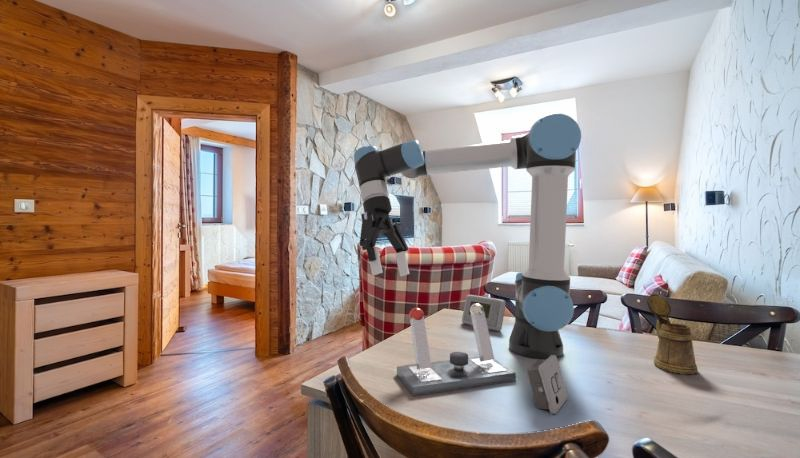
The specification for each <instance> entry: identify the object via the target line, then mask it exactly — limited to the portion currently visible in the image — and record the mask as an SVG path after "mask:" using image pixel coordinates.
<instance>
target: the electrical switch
mask: <svg viewBox="0 0 800 458" xmlns="http://www.w3.org/2000/svg"><path fill="white" fill-rule="evenodd" d="M526 371H527V376H528V379H529V380H528V381H529V383H530V387H531V391H532V395H533V398H534V401H535V402H534V403H535V404H536V405H535V406H536V409H538V410H549V413H550V414H552V415H554V414H555V415H556V414H557V413H558V412H559V410H560V409H561V408H562V406H563V405H564V403H565V402H566V401H567V400H568V393H567V389H566V385H565V382H564V378H563V375H562V371H561V368H560V364H559V360H558V357H556V355H551V356H550V357H549V358H544V359H538V360H537V361H536V362H534V364H532V365H531V366H530V367H529V368H527V370H526Z"/></svg>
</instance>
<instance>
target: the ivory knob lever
mask: <svg viewBox="0 0 800 458" xmlns="http://www.w3.org/2000/svg"><path fill="white" fill-rule="evenodd" d="M470 313H471V318H472V323H473V326H472V328H473V333H474V339H475V344H476V347H477V352H478V353H477V354H478V357H479V358H480V362H483V361H491V360H494V359H495V356H494V355H495V354H494V351H493V346H492V341H491V337H490V333H489V331H490V330H488V327H487V322H486V317H485V313H484V308H483V306H482V305H481V304H478V303H475V304H473V305H472V306H471V307H470Z"/></svg>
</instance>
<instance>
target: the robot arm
mask: <svg viewBox="0 0 800 458" xmlns="http://www.w3.org/2000/svg"><path fill="white" fill-rule="evenodd" d="M581 140H582V131H581V128H580V126H579V124H578V122H577V121H576V120H575V119H573V118H572V116H569V115H567V114H564V113H559V112H558V113H557V112H556V113H555V112H554V113H549V114H546V115H544V116H541V118H538V119H537V120H536V121H535V122H534V123H533V124H532V126H531V127H530V129H529V132H528V133H525V134H521V135H516V136H512V137H511V138H510V139H509V140H503V141H501V140H500V141H493V142H486V143H485V142H484V143H478V144H477V143H476V144H470V145H469V144H468V145H461V146H452V147H444V148H437V149H427V150H423V149H422V147H421V144H420V142H419V141H418V139H413V140H409V141H404V142H402V143H400V144H397V145H394V146H391V147H388V148H386V149H382V150H379V149H378V147H377V146H374V145H367V146H366V145H364V146H361V147H359V148H358V149H356V150H355V152H354V154H353V160H354V161H353V162H354V169H355V173H356V177H357V181H358V185H359V186H358V187H359V191H360V197H361V201H362V207H363V212H364V213H362V214H361V229H360V237H359V246H360V247H361V249H362V250H363V251H366V253H367V258H368V261H369V262H368V263H369V265H370V271H371V276H378V275H379V274H383V273H384V272H383V267H382V263H381V258H380V254H379V249H378V247H377V246H376V244H377V242H378V241H377V240H378V238H379V234H382V236H384V237H386V239H387V240H388V241H389V243H390V244H391V246H392V248H393V249H394V251H395V252H396V253H395V254H394V255H395V259H396V263H397V267H398V268H397V269H398V272H399V277H404V276H408V275H410V269H409V265H408V261H407V256H406V252H408V251H409V247H408V245H407V243H406V239H405V238H404V236H403V234H402V232H401V230H400V228H399V225H398V222H397V218H394V217H393V218H390V215H389V214H391V212H392V210H393V209H392V205H391V199H390V198H389V190H388V187H387V183H386V178H388V177H391V176H394V175H397V174H401V175H402V176H404V177H406V178H408V179H416V178H418V177H424V176H428V175H429V176H430V175H440V174H448V173H451V174H452V173H457V172H469V171H470V172H471V171H478V170H480V171H481V170H488V169H489V170H490V169H497V168H499V169H500V168H507V167H511V168H513V169H514V170H519V169H520V170H522V169H526V172H527V173H528V174H529V175H530V176H531V194H530V195H531V197H530V199H531V200H530V201H531V202H530V224H529V225H530V227H529V248H528V267H527V269H526V270H525V271H523V272H522V271H521V272H518V273H516V274H515V281H514V284H515V312H514V313H515V316H514V317H515V318H514V319H515V320H514V324H513V328H512V331H511V333H510V337H509V338H508V348H509V350H510V351H511V352H514V353H515V354H517V355H521V356H523V357H524V356H525V357H528V358H533V359H534V358H535V359H548V358H549V357H550V356H551V355H556V357H557V358H559V357H561V356H563V354H564V344H563V340H562V337H561V334H560V331H559V330H561V329H563V328H565V327H566V326H567V325H569V323H570V322H571V321H572V319H573V316H574V311H575V308H574V302H573V300H572V297H571V296H570V294H571V276H569V274H568V273H567V272H566V271H565V260H566V259H565V257H566V256H565V254H566V250H565V249H566V236H567V235H566V233H567V231H566V229H567V209H568V189H569V188H568V187H569V186H568V184H569V176H570V175H571V174H572V173H573V172H575V170H576V153H577V152H576V151H577V150H578V149H579V148H580V147H579V146H580V144H581Z"/></svg>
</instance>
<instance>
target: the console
mask: <svg viewBox="0 0 800 458" xmlns="http://www.w3.org/2000/svg"><path fill="white" fill-rule="evenodd" d="M396 376H397V377H398V379H400V381H401V382H402V383H403V385H404V386H405V387H406V388H407V390H408V391H409V393H410V394H411V395H412V396H413V397H417V396H424V395H431V394H438V393H444V392H451V391H457V390H463V389H464V390H465V389H472V388H477V387H483V386H484V387H485V386H492V385H499V384H504V383H505V384H506V383H511V382H516V381H517V372H516V371H514V370H512V369H511V368H510V367H508V366H506V365H505V364H503V363H502V362H500V361H498V360H497V359H496V358H494V360H491V361H483V362H480V358H479V356H473V357H468V364H467V365H464V366H456V365H453V364H451V363H450V359H449V360H448V359H447V360H441V361H439V360H438V361H433V362H432V361H431V368H428V369H420V370H417V367H416V363H415V364H407V365H397V366H396Z"/></svg>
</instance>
